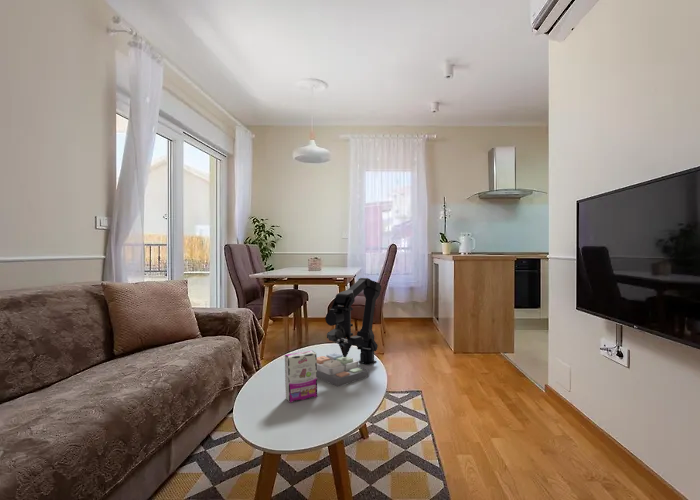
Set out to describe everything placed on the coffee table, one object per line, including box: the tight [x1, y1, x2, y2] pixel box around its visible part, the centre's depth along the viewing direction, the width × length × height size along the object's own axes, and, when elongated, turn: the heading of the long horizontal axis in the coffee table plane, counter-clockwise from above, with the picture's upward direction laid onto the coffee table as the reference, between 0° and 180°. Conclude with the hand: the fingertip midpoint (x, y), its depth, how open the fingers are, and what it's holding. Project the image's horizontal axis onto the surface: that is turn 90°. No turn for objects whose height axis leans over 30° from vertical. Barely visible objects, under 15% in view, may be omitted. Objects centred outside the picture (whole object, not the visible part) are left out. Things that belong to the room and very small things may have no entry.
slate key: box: [326, 352, 343, 360], centre depth 168 cm, size 5×5×2 cm
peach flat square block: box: [317, 355, 330, 364], centre depth 163 cm, size 5×5×2 cm
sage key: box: [337, 355, 354, 364], centre depth 163 cm, size 5×5×2 cm
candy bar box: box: [284, 350, 318, 403], centre depth 137 cm, size 11×5×16 cm, turn 117°
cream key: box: [324, 359, 341, 368], centre depth 158 cm, size 5×5×2 cm
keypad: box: [317, 359, 370, 387], centre depth 161 cm, size 17×22×6 cm
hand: (344, 357), depth 163 cm, fingers closed
